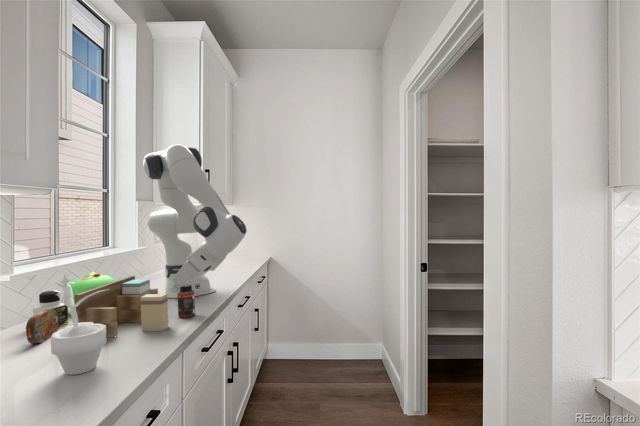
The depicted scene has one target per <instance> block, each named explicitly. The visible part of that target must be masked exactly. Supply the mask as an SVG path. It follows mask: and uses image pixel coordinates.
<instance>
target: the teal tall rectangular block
mask: <svg viewBox="0 0 640 426" xmlns="http://www.w3.org/2000/svg"><path fill="white" fill-rule="evenodd" d="M150 281H151V280H150V278H149V279H135V280H131V281H128V282H125V283H123V284H122V294H123V295H143V296H144V295H147V294H150V289H151V282H150Z"/></svg>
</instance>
